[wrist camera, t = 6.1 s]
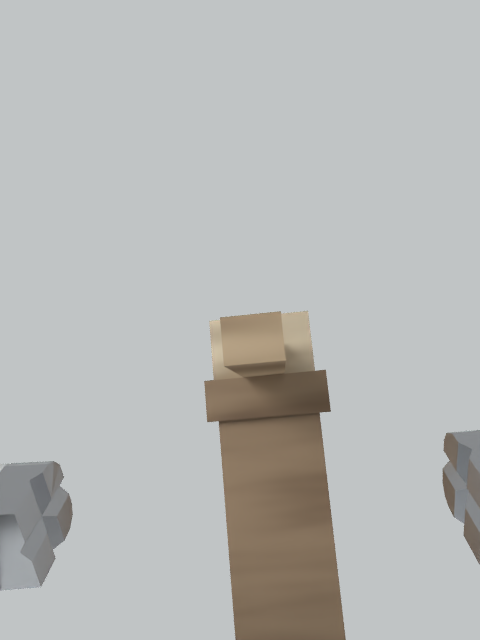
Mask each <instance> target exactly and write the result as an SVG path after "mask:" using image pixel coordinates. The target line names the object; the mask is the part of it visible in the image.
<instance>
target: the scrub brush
mask: <svg viewBox="0 0 480 640" xmlns="http://www.w3.org/2000/svg"><path fill="white" fill-rule="evenodd" d="M210 335H211V348H212V361H213V375H214V380H221V379H232V378H243V377H254V376H265V375H275V374H286V373H297V372H308V371H315V367H314V359H313V350H312V341H311V333H310V324H309V316H308V311H303V312H293V313H283V314H281V312H270V313H260V314H250V315H241V316H231V317H221V318H220V320H215V321H210Z"/></svg>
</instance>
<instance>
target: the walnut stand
mask: <svg viewBox="0 0 480 640" xmlns="http://www.w3.org/2000/svg"><path fill="white" fill-rule="evenodd" d="M205 396H206V410H207V422H213V421H219V428H220V443H221V456H222V468H223V482H224V494H225V507H226V521H227V533H228V546H229V560H230V573H231V585H232V599H233V611H234V625H235V636H236V637H235V638H236V640H346V639H345V630H344V622H343V614H342V605H341V596H340V587H339V578H338V569H337V561H336V553H335V543H334V535H333V527H332V518H331V509H330V500H329V491H328V483H327V474H326V466H325V457H324V448H323V439H322V431H321V422H320V413H319V412H330V411H331V410H330V402H329V394H328V385H327V378H326V370H319V371H308V372H297V373H286V374H275V375H265V376H254V377H243V378H232V379H221V380H210V381H205Z"/></svg>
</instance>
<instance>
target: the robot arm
mask: <svg viewBox="0 0 480 640" xmlns="http://www.w3.org/2000/svg"><path fill="white" fill-rule="evenodd" d="M444 452H445V453H446V455H447V457H448V458H449V460H450V461H449V462H448V463H447V464H446V465H445V467H444V468H443V486H444V492H445V497H446V500H447V503H448V506H449V508H450V510H451V512H452V514H453V516H454V517H455V518H456V519H458V520H459V521H461V522H463V523H464V537H465V539H466V540H467V542H468V544H469V546H470V548H471V550H472V551H473V553H474V555H475V557H476V559H477V561H478V563H479V564H480V430H476V431H464V432H452V433H446V436H445V439H444ZM63 478H64V476H63V473H62V470H61V467H60V465H59V464H58V463H56V462H54V461H50V462H30V463H11V464H0V590H12V589H24V588H36V587H41V586H42V584H43V582H44V580H45V578H46V576H47V574H48V572H49V570H50V568H51V566H52V564H53V562H54V560H55V555H54V552H53V549H54V548H55V547H57V546H58V545H59V544H60V543H62V542H63V541H64V540H65V538H66V536H67V534H68V532H69V529H70V525H71V520H72V515H73V514H72V503H71V499H70V496H69V493H67V492H66V491H65V490H63V489H62V488H61V487H60V484H61V482H62V480H63Z"/></svg>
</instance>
